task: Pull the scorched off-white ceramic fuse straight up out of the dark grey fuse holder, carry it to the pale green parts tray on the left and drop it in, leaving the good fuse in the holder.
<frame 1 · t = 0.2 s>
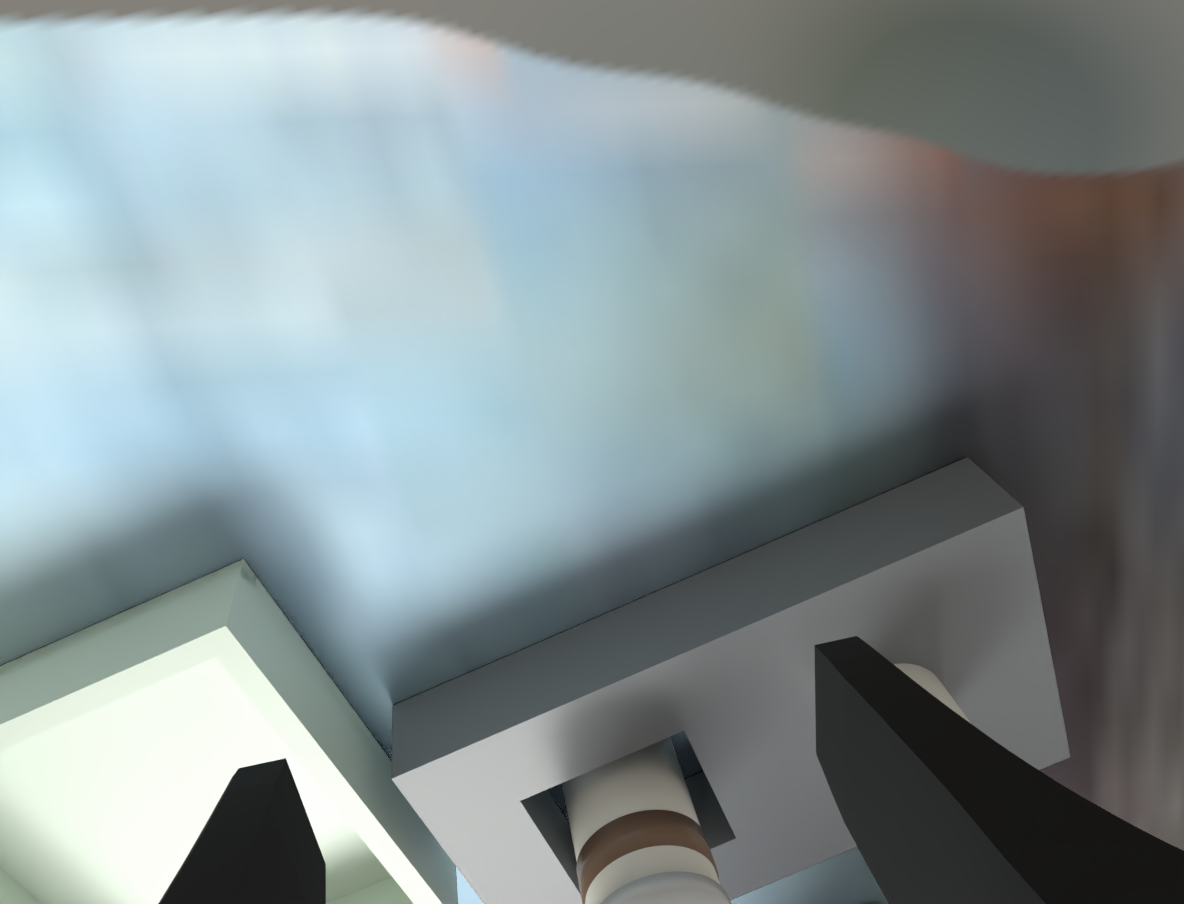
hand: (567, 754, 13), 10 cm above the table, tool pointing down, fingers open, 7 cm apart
blown fuse: (613, 748, 27), resting in fuse holder
parts tray: (182, 796, 25), on the table
fuse holder: (729, 700, 27), on the table
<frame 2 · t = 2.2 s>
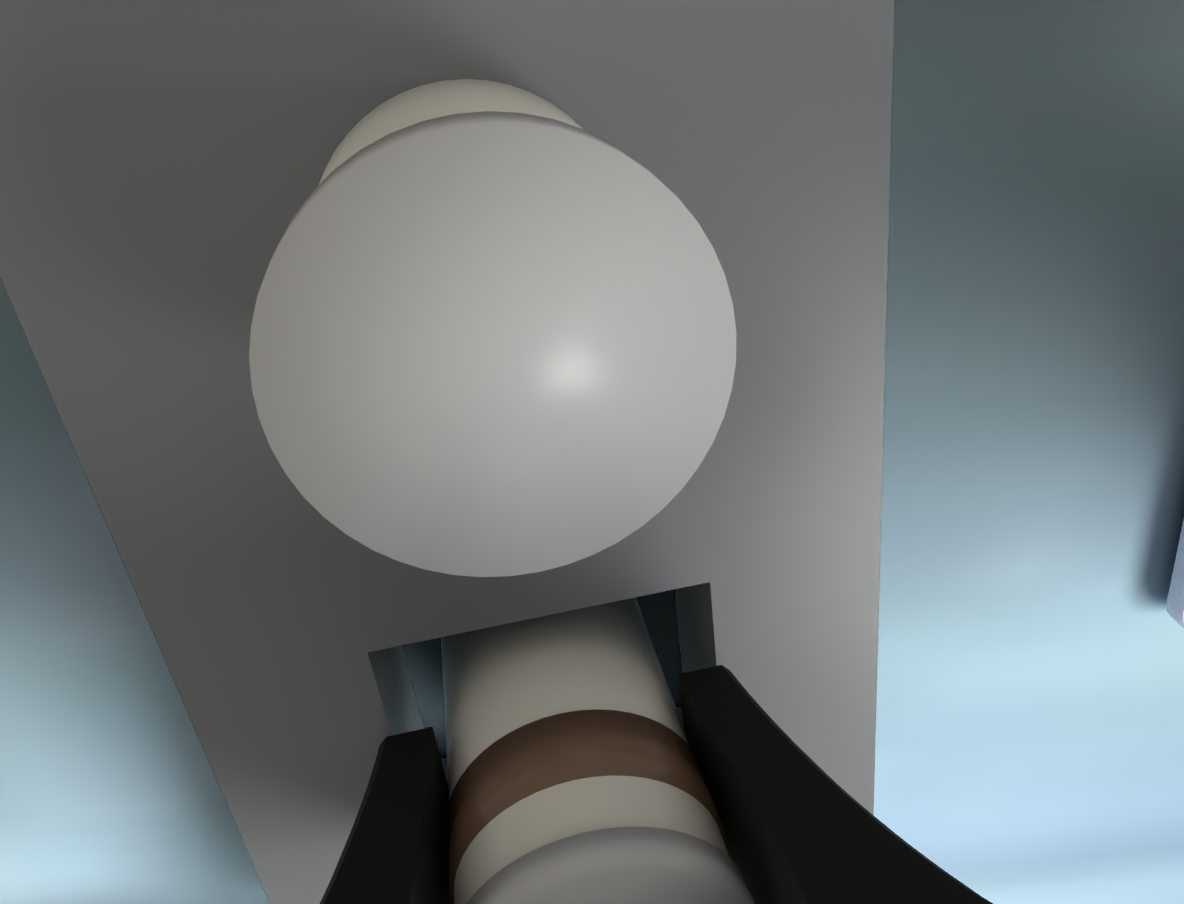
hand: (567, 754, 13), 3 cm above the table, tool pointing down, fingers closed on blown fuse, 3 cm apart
blown fuse: (542, 630, 15), resting in fuse holder, touching gripper
fuse holder: (506, 439, 14), on the table
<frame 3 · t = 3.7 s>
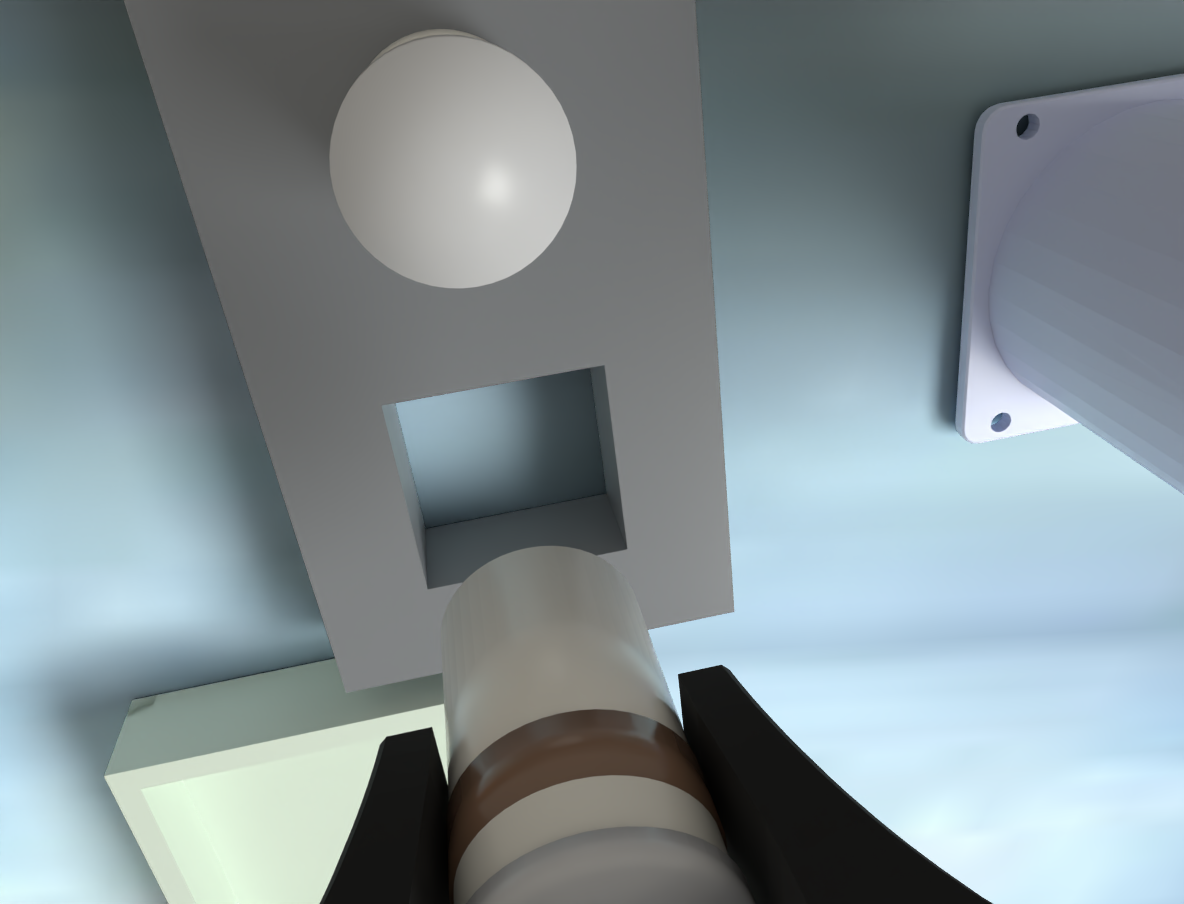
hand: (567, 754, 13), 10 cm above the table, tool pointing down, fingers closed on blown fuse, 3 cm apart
blown fuse: (541, 630, 15), point 7 cm above the table, touching gripper
parts tray: (403, 796, 26), on the table
fuse holder: (474, 283, 20), on the table
when the fingers open (5 cm above the table, at t = 5.7 s): blown fuse drops 1 cm, resting on parts tray.
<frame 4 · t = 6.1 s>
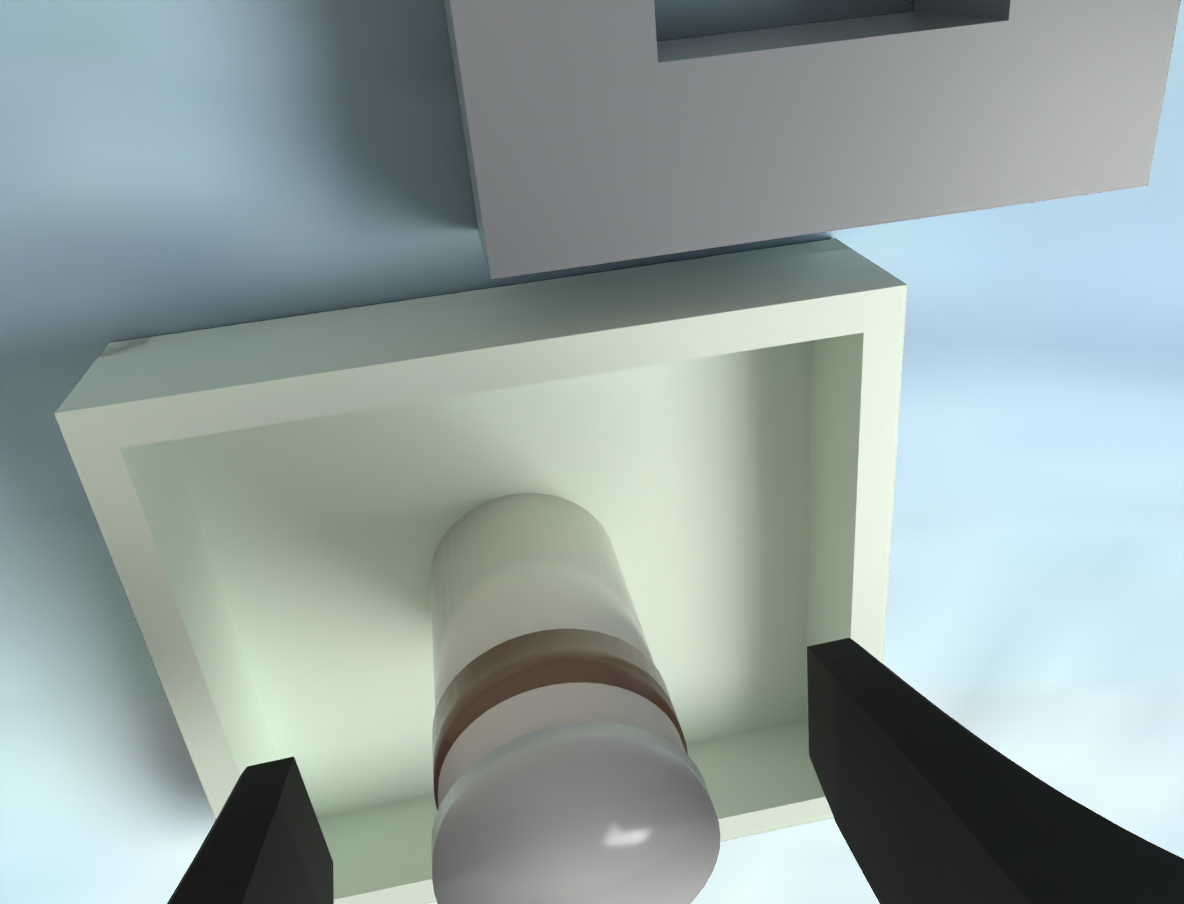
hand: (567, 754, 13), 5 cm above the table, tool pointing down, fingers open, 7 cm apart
blown fuse: (524, 574, 16), point 1 cm above the table, touching parts tray
parts tray: (528, 562, 17), on the table
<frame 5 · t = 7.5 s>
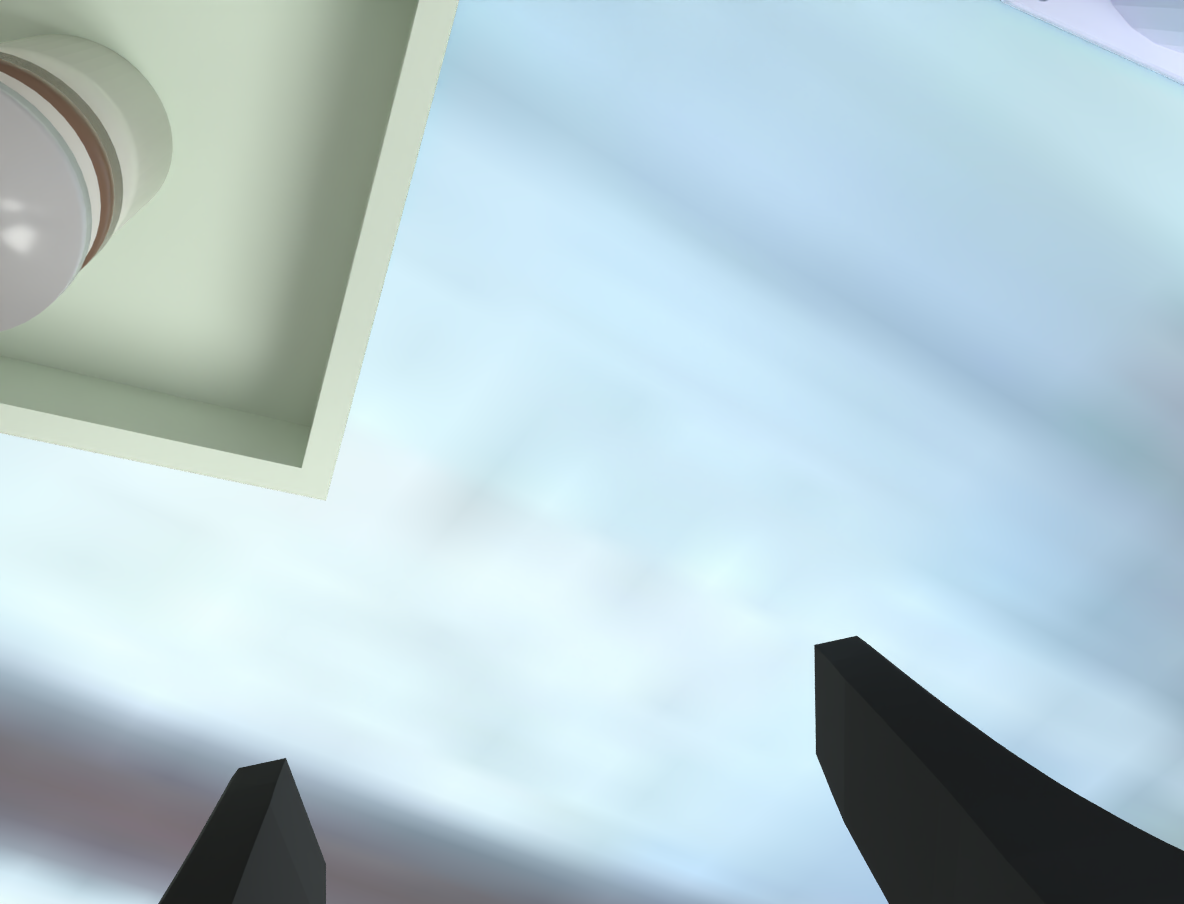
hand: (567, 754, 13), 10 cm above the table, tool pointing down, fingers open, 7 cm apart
blown fuse: (76, 131, 17), point 1 cm above the table, touching parts tray
parts tray: (92, 137, 18), on the table
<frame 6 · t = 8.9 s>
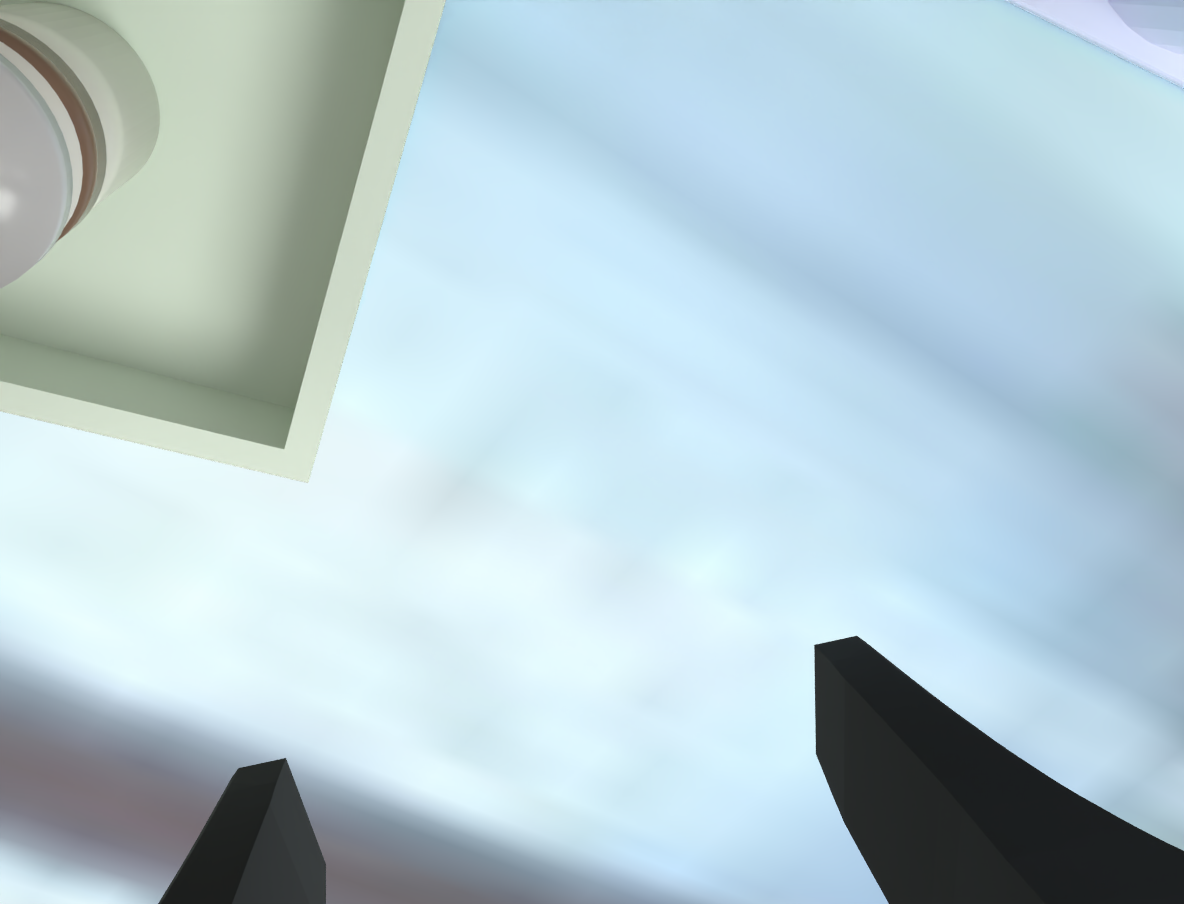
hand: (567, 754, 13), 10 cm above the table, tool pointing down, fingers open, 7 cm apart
blown fuse: (62, 102, 17), point 1 cm above the table, touching parts tray
parts tray: (78, 109, 17), on the table
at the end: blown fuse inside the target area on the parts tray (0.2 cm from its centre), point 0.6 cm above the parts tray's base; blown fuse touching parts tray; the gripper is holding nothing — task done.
